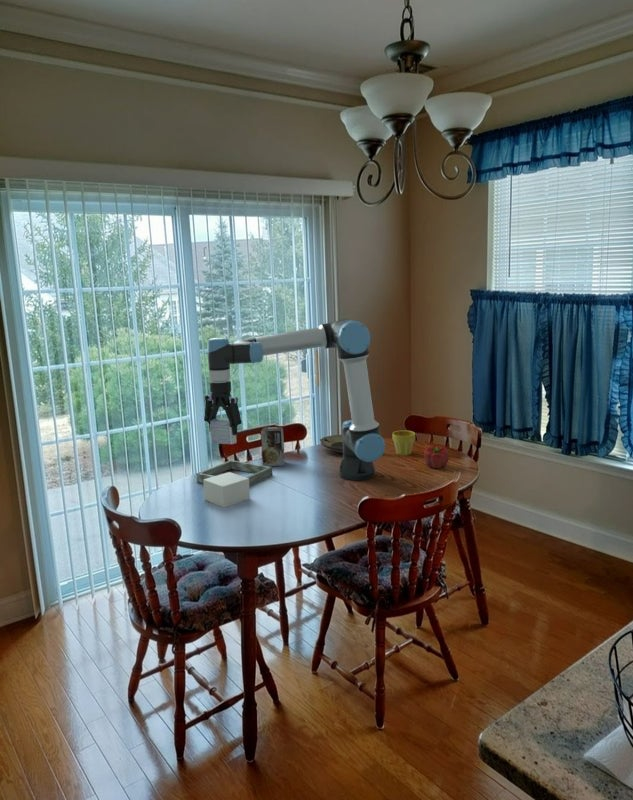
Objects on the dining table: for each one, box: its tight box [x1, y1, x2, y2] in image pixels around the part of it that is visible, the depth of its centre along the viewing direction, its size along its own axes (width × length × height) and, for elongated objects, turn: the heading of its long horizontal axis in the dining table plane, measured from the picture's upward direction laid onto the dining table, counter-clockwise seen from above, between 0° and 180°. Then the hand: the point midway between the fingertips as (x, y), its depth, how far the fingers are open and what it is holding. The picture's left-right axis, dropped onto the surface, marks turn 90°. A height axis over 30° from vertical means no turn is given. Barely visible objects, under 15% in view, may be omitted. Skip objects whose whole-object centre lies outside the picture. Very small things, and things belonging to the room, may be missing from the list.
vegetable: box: [423, 444, 450, 469], centre depth 255 cm, size 11×10×10 cm
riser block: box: [202, 471, 251, 508], centre depth 225 cm, size 12×12×8 cm
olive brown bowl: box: [319, 434, 343, 454], centre depth 283 cm, size 22×30×8 cm
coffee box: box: [260, 426, 286, 467], centre depth 267 cm, size 9×6×16 cm
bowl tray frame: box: [196, 459, 273, 487], centre depth 249 cm, size 22×21×4 cm
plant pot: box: [391, 429, 416, 456], centre depth 277 cm, size 10×10×10 cm
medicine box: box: [210, 417, 234, 445], centre depth 221 cm, size 8×4×9 cm, turn 71°
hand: (223, 441), depth 222 cm, fingers closed on medicine box, 8 cm apart
